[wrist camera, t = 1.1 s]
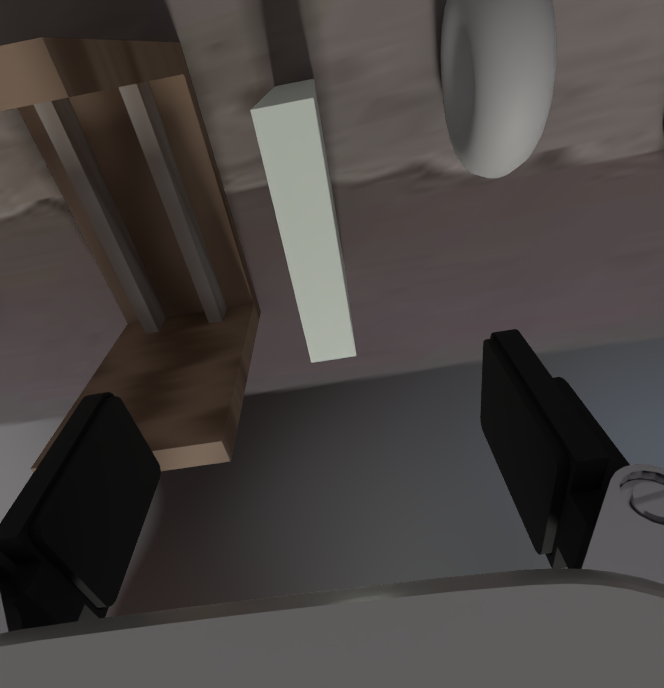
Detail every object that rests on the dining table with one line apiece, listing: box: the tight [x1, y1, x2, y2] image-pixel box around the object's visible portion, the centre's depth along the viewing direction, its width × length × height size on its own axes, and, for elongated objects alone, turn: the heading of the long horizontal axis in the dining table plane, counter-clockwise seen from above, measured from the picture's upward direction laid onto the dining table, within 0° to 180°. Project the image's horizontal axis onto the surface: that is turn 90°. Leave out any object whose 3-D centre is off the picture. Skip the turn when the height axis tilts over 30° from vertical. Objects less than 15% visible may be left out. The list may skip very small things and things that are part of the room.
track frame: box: [0, 37, 260, 472], centre depth 24 cm, size 10×18×15 cm, turn 9°
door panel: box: [251, 79, 356, 363], centre depth 25 cm, size 2×12×12 cm, turn 10°
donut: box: [441, 0, 557, 178], centre depth 22 cm, size 10×4×10 cm, turn 11°
